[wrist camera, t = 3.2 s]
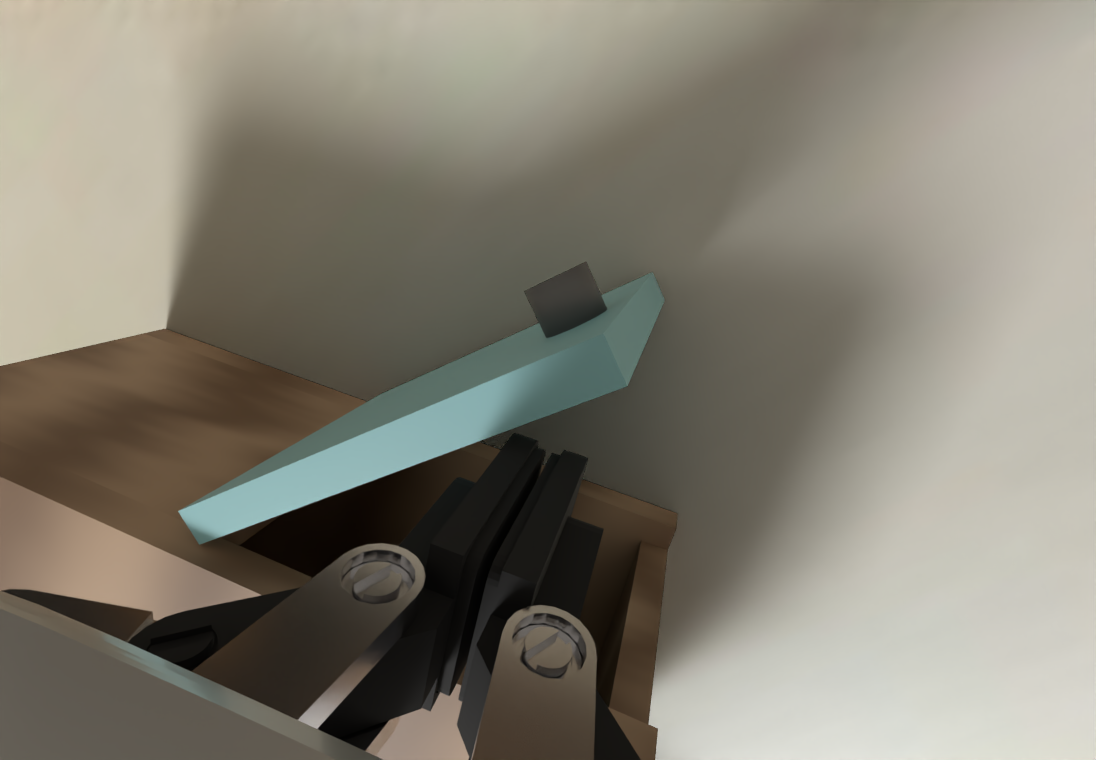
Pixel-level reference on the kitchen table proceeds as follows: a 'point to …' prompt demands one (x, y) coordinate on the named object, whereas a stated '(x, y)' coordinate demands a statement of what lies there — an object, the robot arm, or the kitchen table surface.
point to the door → (454, 402)
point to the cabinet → (277, 543)
